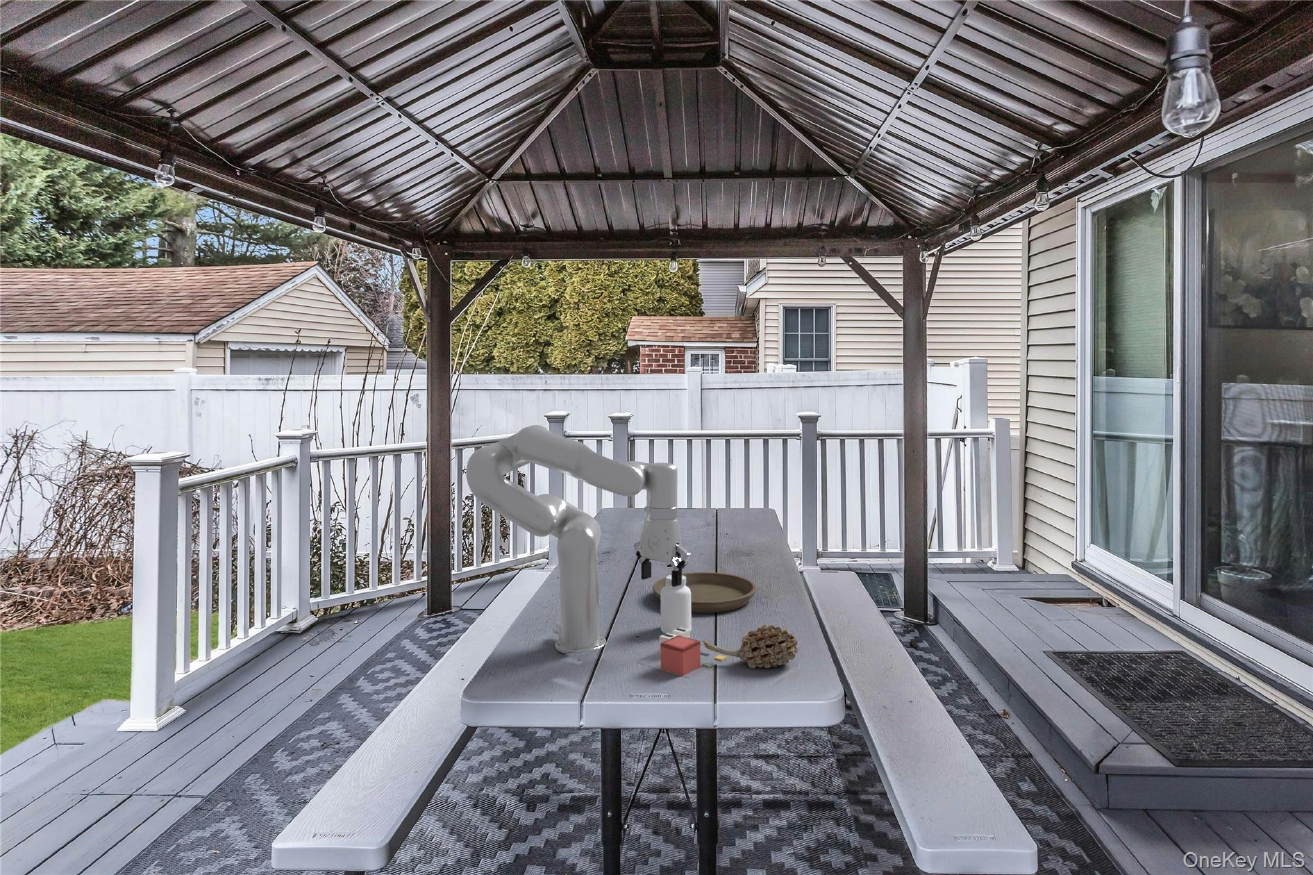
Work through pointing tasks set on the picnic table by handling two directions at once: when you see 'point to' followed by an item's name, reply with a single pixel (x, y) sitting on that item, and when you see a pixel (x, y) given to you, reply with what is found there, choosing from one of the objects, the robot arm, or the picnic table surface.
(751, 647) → the pine cone
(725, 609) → the plant saucer
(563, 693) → the picnic table surface
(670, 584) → the pill bottle
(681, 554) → the robot arm
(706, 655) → the breaker panel
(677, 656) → the cap
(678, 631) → the breaker toggle
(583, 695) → the picnic table surface
